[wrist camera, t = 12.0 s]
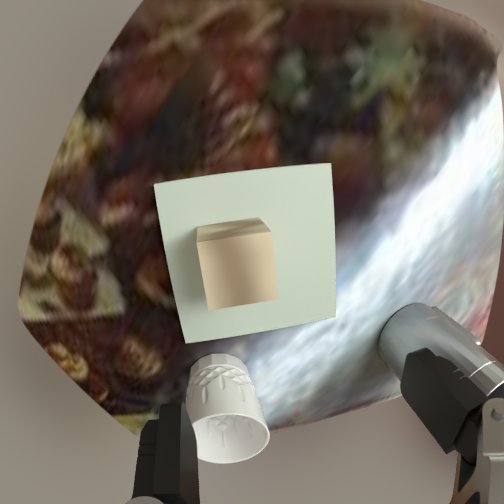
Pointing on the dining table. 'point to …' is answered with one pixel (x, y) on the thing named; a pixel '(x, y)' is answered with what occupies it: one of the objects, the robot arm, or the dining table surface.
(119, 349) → the dining table surface
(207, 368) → the white cup
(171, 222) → the sage board
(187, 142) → the dining table surface
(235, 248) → the beech cube
